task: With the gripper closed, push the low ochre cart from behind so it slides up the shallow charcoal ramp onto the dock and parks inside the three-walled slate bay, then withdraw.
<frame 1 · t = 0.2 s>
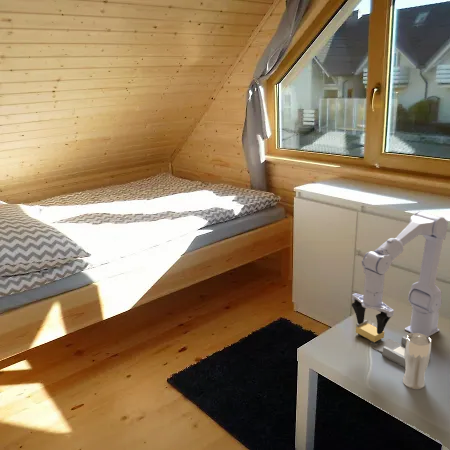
hand: (370, 327, 149), 10 cm above the table, fingers open, 7 cm apart
dock: (400, 353, 152), on the table
beer glass: (413, 383, 138), on the table
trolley: (369, 337, 162), on the table
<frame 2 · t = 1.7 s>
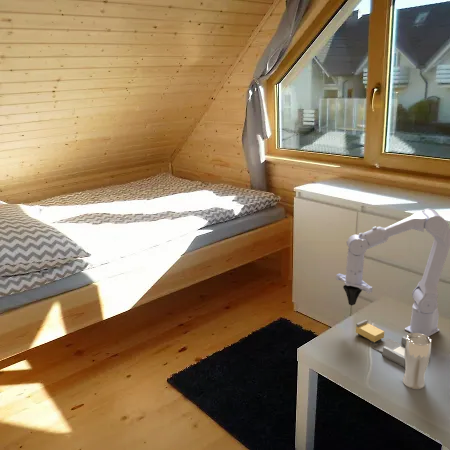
hand: (352, 304, 166), 9 cm above the table, fingers closed
nothing on the table moved.
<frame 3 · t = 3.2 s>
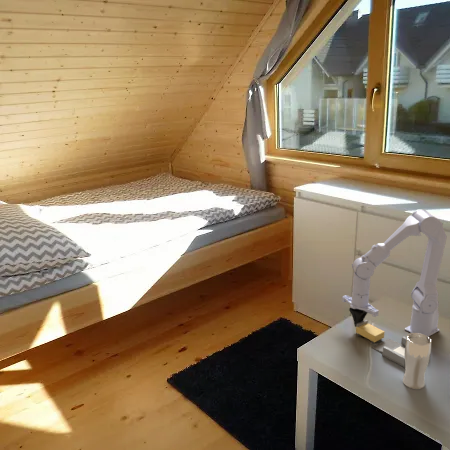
hand: (357, 326, 166), 2 cm above the table, fingers closed
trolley: (369, 337, 162), on the table, touching gripper
everything else where it was.
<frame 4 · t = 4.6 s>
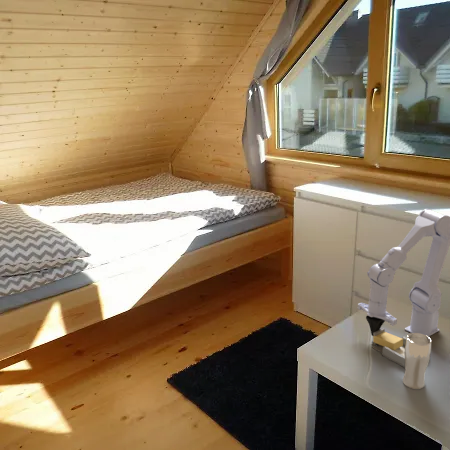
hand: (374, 335, 160), 2 cm above the table, fingers closed
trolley: (387, 346, 156), resting on dock, tilted 6°, touching gripper
everything else where it was.
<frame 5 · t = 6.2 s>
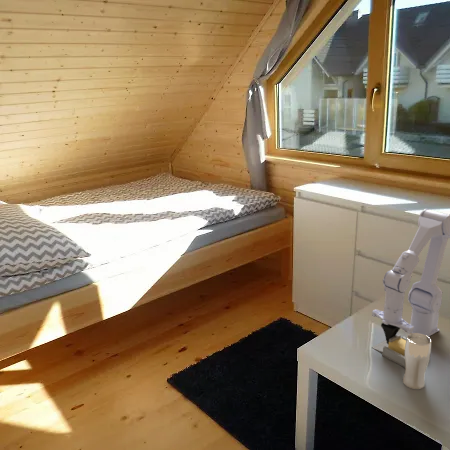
hand: (389, 342, 155), 2 cm above the table, fingers closed
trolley: (403, 353, 151), point 1 cm above the table, touching dock, gripper
everything else where it was.
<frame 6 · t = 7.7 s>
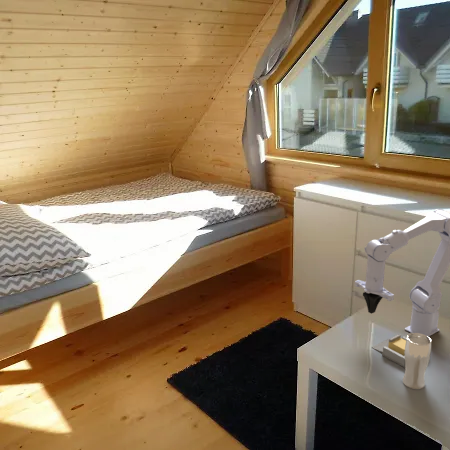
hand: (371, 312, 159), 10 cm above the table, fingers closed
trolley: (403, 353, 151), point 1 cm above the table, touching dock
everything else where it was.
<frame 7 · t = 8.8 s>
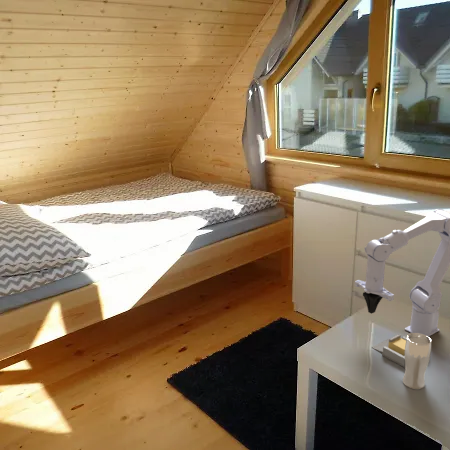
hand: (371, 312, 159), 10 cm above the table, fingers closed
nothing on the table moved.
at the end: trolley inside the target area (0.1 cm from its centre), point 0.6 cm above the table; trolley tilted 0° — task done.
